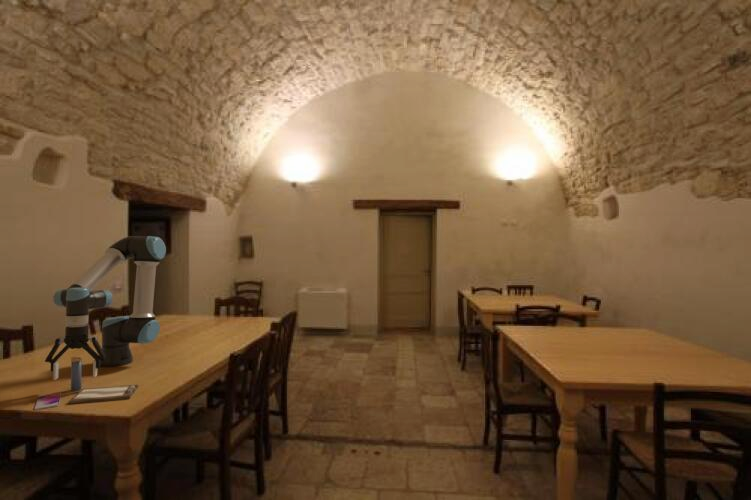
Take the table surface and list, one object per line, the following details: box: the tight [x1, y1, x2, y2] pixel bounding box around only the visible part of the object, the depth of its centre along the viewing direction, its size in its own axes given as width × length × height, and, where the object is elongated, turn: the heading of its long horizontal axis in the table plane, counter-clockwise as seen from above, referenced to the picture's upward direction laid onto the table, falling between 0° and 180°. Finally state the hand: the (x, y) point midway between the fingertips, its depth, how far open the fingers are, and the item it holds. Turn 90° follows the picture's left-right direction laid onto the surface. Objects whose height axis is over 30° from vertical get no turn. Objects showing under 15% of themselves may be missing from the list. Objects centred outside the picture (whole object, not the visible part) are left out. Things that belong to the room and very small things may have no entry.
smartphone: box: [33, 392, 62, 411], centre depth 152 cm, size 7×1×15 cm
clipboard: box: [67, 384, 139, 405], centre depth 160 cm, size 14×20×2 cm
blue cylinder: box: [70, 355, 83, 392], centre depth 165 cm, size 4×4×14 cm
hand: (75, 377), depth 165 cm, fingers open, 13 cm apart
